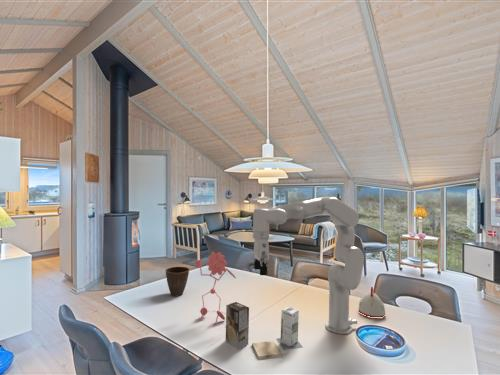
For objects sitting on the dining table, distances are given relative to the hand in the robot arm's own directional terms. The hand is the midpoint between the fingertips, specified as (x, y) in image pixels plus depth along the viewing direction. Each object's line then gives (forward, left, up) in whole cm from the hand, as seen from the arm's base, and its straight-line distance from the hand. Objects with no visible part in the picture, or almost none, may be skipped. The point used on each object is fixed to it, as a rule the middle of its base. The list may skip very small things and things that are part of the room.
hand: (260, 272), depth 128 cm
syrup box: (-12, +7, -30) cm, 33 cm away
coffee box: (+11, +2, -31) cm, 32 cm away
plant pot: (+37, -64, -31) cm, 80 cm away
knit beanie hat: (-71, -13, -31) cm, 79 cm away
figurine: (+17, -25, -31) cm, 43 cm away
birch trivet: (0, +11, -30) cm, 32 cm away
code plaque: (-12, +7, -30) cm, 33 cm away
